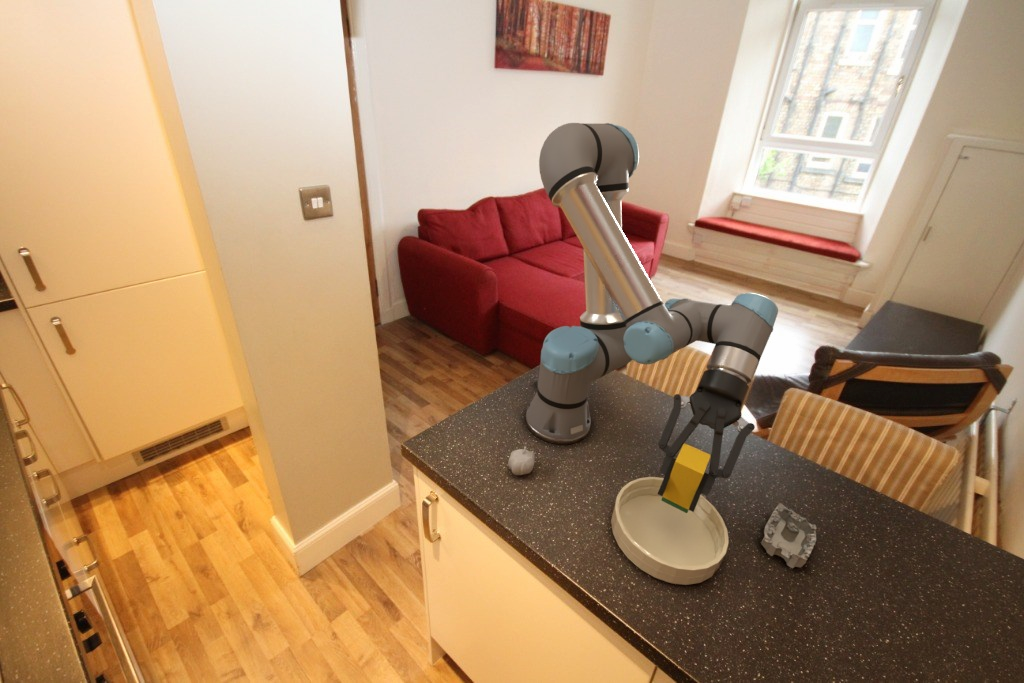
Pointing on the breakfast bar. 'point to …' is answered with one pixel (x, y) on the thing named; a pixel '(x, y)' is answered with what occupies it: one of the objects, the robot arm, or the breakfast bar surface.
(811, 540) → the egg carton
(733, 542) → the breakfast bar surface
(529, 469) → the garlic
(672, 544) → the pan
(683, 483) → the sponge
